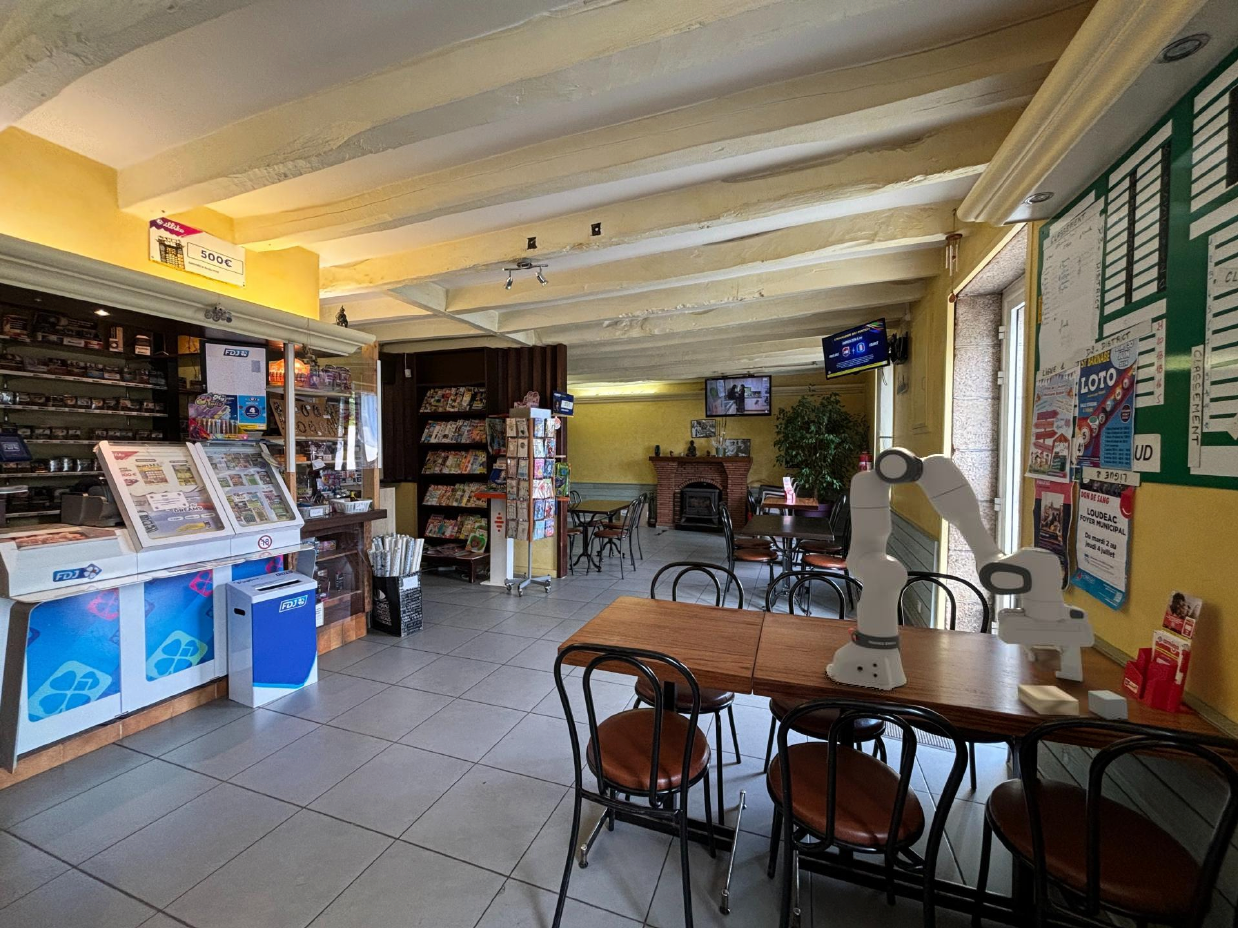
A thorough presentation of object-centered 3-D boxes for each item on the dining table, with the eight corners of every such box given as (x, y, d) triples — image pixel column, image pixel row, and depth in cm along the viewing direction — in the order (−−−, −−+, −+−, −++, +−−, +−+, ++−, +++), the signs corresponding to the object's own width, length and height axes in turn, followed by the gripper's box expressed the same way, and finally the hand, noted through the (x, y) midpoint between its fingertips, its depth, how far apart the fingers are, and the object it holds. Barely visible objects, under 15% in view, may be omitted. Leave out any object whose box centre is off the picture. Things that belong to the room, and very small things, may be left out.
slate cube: (1107, 719, 127) (1106, 699, 127) (1089, 710, 132) (1088, 690, 132) (1127, 719, 127) (1126, 698, 127) (1108, 709, 132) (1107, 690, 132)
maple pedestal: (1039, 715, 131) (1039, 699, 131) (1018, 699, 140) (1017, 684, 140) (1079, 716, 130) (1078, 700, 130) (1055, 700, 138) (1054, 685, 138)
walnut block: (1040, 670, 133) (1039, 651, 133) (1032, 663, 138) (1031, 645, 138) (1061, 671, 132) (1060, 651, 132) (1052, 664, 136) (1050, 646, 136)
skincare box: (1082, 677, 151) (1080, 636, 151) (1082, 682, 148) (1080, 640, 148) (1055, 672, 155) (1053, 632, 156) (1054, 677, 152) (1052, 636, 152)
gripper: (1002, 611, 135) (1005, 663, 135) (1096, 613, 129) (1100, 667, 129) (992, 604, 141) (995, 654, 141) (1081, 606, 135) (1085, 658, 135)
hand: (1046, 661), depth 135 cm, fingers closed on walnut block, 4 cm apart
